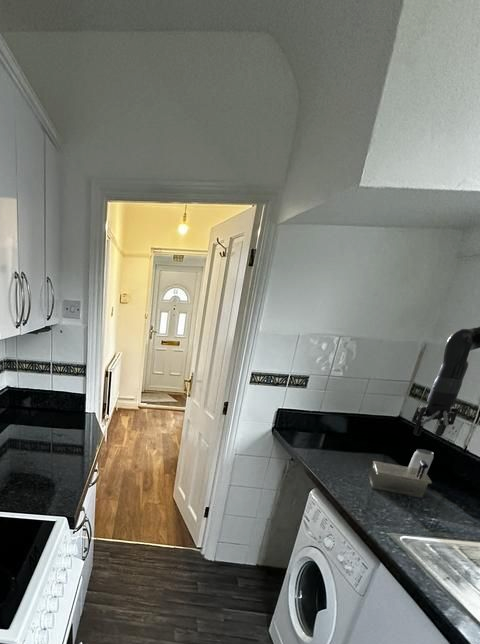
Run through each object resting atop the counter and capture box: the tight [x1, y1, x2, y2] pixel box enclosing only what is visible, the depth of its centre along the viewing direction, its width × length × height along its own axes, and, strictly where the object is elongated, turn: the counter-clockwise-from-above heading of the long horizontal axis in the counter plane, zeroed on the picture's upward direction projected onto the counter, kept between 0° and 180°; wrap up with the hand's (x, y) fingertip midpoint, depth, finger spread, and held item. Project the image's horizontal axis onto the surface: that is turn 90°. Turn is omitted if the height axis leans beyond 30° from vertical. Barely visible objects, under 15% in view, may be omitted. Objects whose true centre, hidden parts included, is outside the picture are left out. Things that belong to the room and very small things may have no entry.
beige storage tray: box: [367, 463, 429, 499], centre depth 160 cm, size 16×14×6 cm
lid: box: [372, 460, 433, 485], centre depth 157 cm, size 17×14×6 cm
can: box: [407, 448, 435, 475], centre depth 167 cm, size 6×6×12 cm
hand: (427, 435), depth 149 cm, fingers open, 8 cm apart
